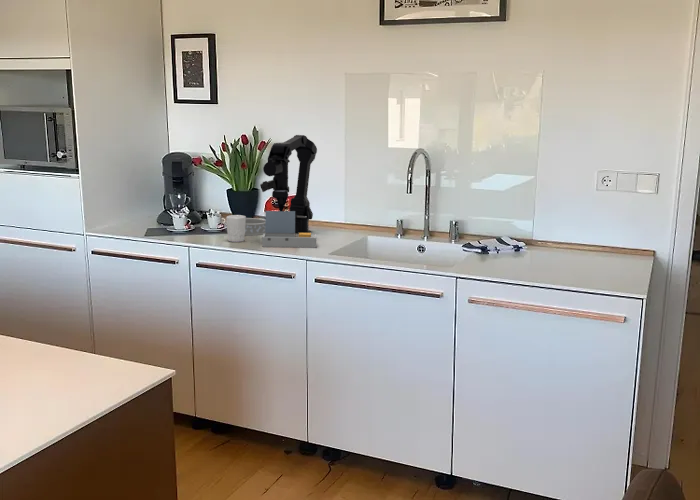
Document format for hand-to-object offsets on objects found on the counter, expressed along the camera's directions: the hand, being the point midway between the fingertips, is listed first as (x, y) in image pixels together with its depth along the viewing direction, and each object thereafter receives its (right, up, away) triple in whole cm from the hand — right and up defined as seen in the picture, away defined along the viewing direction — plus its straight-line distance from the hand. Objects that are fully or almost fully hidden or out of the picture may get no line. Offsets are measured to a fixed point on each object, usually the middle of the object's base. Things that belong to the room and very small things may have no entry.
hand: (280, 211), depth 299 cm
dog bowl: (-16, -8, +19) cm, 26 cm away
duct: (+4, -14, -8) cm, 17 cm away
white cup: (-19, -12, 0) cm, 22 cm away
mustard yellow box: (+10, -13, +1) cm, 16 cm away
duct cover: (0, -5, -7) cm, 8 cm away
